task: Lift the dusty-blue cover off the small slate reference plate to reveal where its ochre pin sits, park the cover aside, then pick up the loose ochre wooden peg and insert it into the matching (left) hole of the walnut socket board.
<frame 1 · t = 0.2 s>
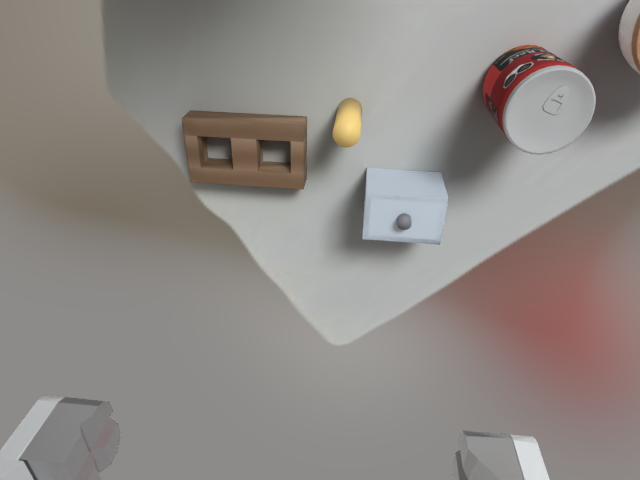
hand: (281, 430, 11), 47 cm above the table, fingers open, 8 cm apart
cover: (401, 191, 59), on the table
canned food: (517, 81, 51), on the table
socket board: (250, 145, 58), on the table
peg: (349, 110, 55), on the table
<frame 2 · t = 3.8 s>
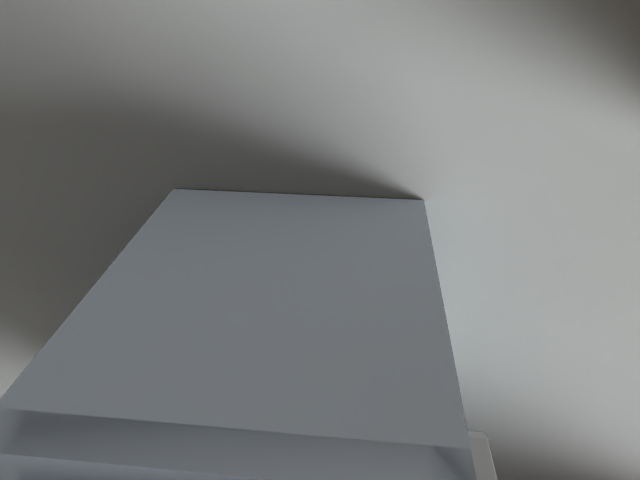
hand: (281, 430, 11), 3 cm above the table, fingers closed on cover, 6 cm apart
cover: (299, 334, 14), on the table, touching gripper
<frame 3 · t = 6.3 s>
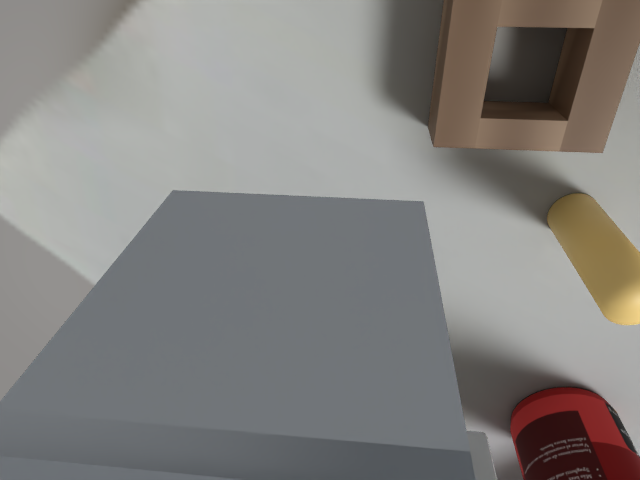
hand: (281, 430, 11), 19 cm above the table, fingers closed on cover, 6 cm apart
cover: (299, 335, 14), point 16 cm above the table, touching gripper
canned food: (559, 415, 37), on the table
peg: (572, 214, 28), on the table
when the fingers open (4 cm above the table, at t = 9.0 s): cover stays where it is, on the table.
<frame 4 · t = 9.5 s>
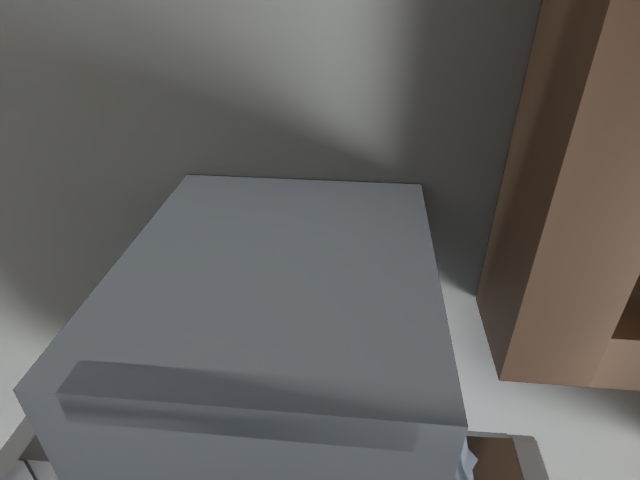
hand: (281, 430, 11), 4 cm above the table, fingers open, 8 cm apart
cover: (304, 314, 14), on the table
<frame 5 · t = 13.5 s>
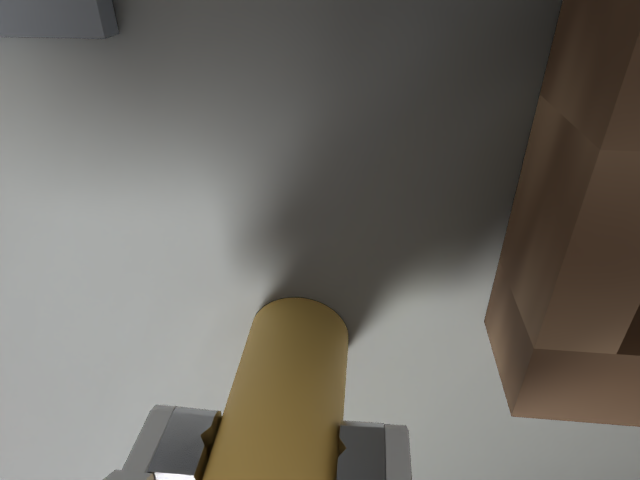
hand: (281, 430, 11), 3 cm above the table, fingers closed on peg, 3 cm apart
peg: (299, 335, 14), on the table, touching gripper
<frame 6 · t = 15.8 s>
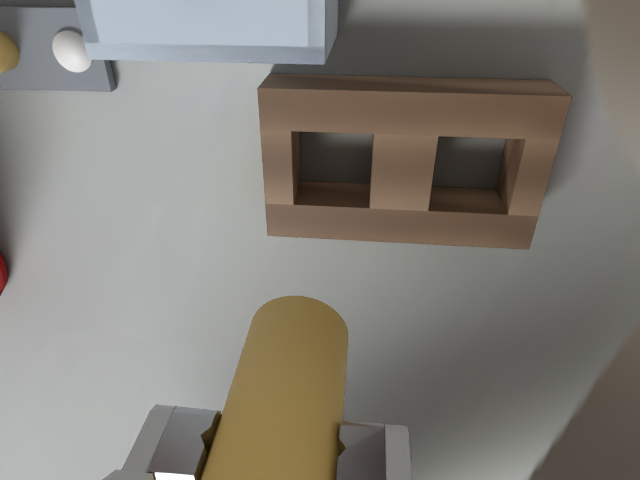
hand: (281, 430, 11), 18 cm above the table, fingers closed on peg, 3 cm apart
reference plate: (43, 48, 25), on the table
socket board: (399, 151, 26), on the table
peg: (299, 334, 14), point 15 cm above the table, touching gripper
when the fingers open (4 cm above the table, at t = 18.0 s): peg drops 1 cm, resting in socket board.
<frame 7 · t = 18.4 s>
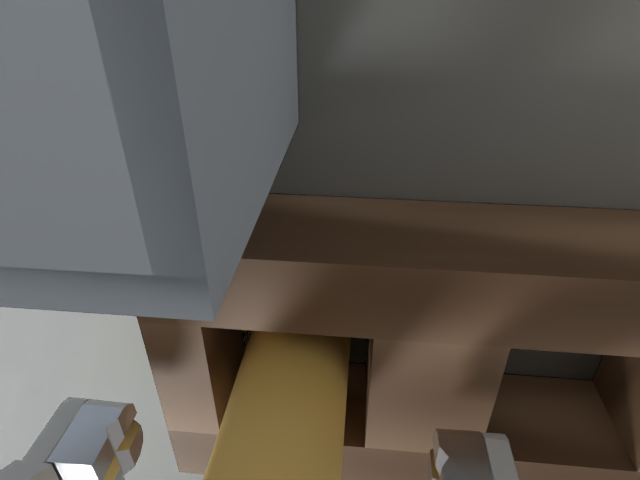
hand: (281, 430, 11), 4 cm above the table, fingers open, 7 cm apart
socket board: (420, 320, 14), on the table
peg: (306, 311, 14), resting in socket board
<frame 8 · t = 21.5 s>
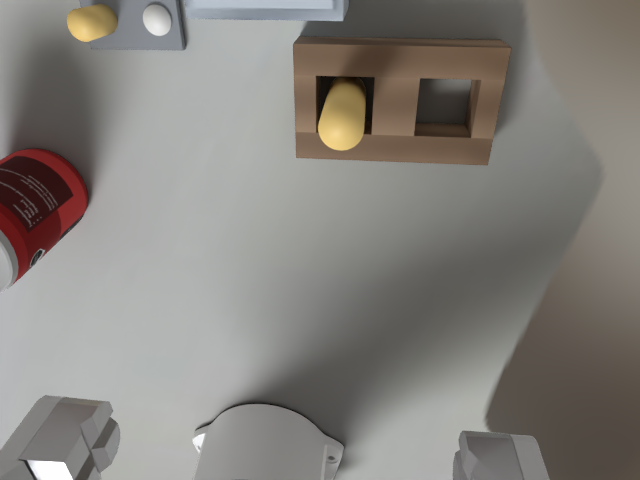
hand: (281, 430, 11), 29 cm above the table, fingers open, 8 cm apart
canned food: (50, 186, 43), on the table
reference plate: (134, 18, 34), on the table
socket board: (393, 95, 35), on the table
peg: (347, 93, 35), resting in socket board
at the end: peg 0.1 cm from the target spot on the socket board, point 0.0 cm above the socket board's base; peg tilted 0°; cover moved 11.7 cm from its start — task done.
